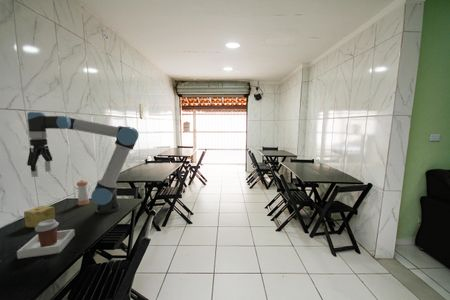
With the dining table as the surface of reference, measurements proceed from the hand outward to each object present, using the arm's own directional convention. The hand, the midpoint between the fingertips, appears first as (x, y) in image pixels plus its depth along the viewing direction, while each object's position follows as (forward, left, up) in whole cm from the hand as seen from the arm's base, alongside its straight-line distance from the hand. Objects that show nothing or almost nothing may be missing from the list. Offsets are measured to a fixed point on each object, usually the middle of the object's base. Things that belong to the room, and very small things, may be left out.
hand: (42, 173), depth 121 cm
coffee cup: (-13, +26, -32) cm, 43 cm away
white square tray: (-13, +26, -33) cm, 44 cm away
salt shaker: (-8, -34, -33) cm, 48 cm away
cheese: (+5, -3, -33) cm, 34 cm away
